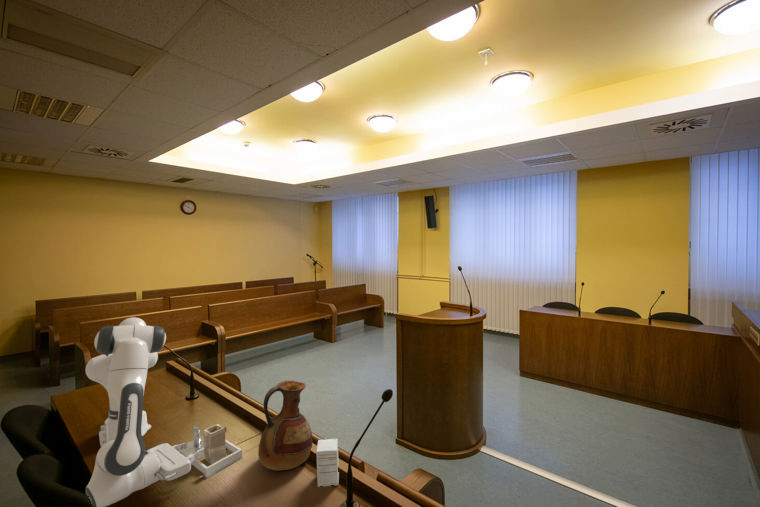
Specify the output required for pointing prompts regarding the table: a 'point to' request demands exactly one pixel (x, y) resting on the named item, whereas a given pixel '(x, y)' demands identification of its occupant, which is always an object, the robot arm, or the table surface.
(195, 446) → the base plate with pin
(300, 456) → the ceramic pitcher
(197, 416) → the table surface
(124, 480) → the robot arm
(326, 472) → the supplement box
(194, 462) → the rectangular frame
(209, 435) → the sleeve
